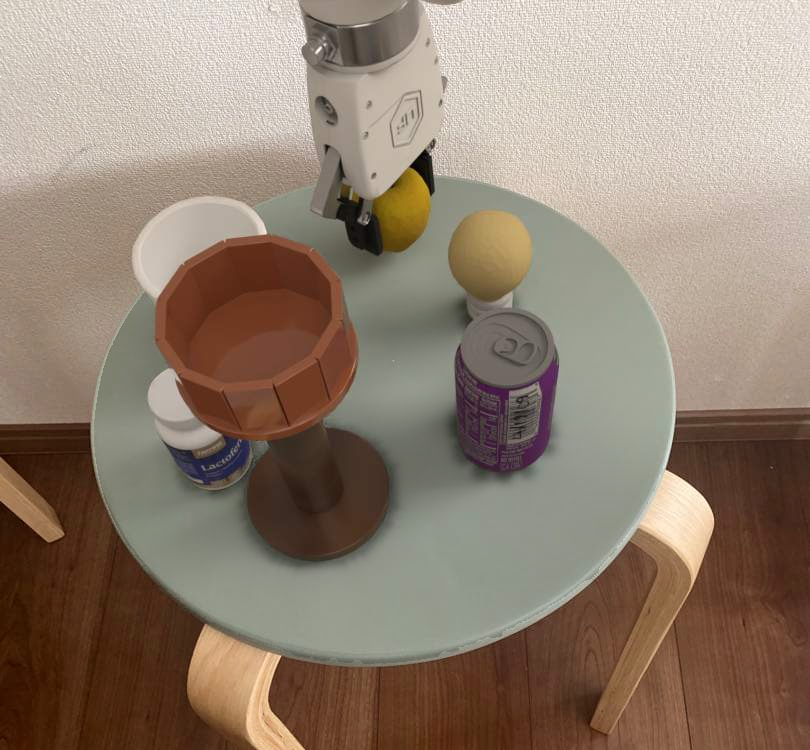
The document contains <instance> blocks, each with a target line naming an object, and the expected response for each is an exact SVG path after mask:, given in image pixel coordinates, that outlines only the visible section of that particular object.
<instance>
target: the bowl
mask: <svg viewBox="0 0 810 750" xmlns="http://www.w3.org/2000/svg"><path fill="white" fill-rule="evenodd" d="M157 299H158V301H156V306H155V319H154V336H153V337H154V339H153V340H154V342H155V345H156V347H157V349H158V350H159V352H160V354H161V356H162V357H163V360H164V361H165V363H166V364H167V366H168V368H170V370H171V372H172V373H173V375H174V377H175V382H176V385H177V388H178V391H179V393H180V395H181V397H182V399H183V400H184V402H185V404H186V406H187V407H188V409H189V410H190V411H191V413H192V414H193V415H194V416H195V417H196V418H197V419H198V420H199V421H200V422H201V423H203V424H204V425H206V426H207V427H208V428H210V429H212V430H214V431H216V432H218V433H220V434H222V435H225V436H228V437H231V438H235V439H240V440H248V441H249V442H265V441H266V442H267V441H269V440H275V439H281V438H285V437H288V436H292V435H295V434H297V433H300V432H302V431H305V430H306V429H308V428H310V427H312V426H314V425H316V424H317V423H318V422H320V421H321V420H323V421H324V419H326V418H327V417H328V416H329V415H330V414H331V413H332V412H334V411H335V410H336V408H338V406H339V405H340V404H341V403H342V402H343V400H344V398H346V396H347V394H348V393H349V391H350V389H351V387H352V385H353V384H354V381H355V377H356V375H357V372H358V366H359V359H360V349H359V342H358V336H357V333H356V329H355V325H354V323H353V321H352V319H351V317H350V315H349V310H348V305H347V302H346V298H345V293H344V288H343V283H342V281H341V278H340V276H338V274H337V273H336V272H335V270H334V269H333V268H332V267H331V266H330V265H329V263H327V261H326V260H325V258H324V257H323V256H322V255H321V254H320V252H318V250H317V249H316V248H314V247H312V246H309V245H307V244H304V243H301V242H298V241H295V240H292V239H289V238H286V237H284V236H280V235H277V234H271V233H267V234H264V235H256V236H247V237H238V238H229V239H226V240H225V242H224V241H223V240H222V241H220V242H218V243H216V244H215V245H213V246H211V247H209V248H207V249H206V250H204V251H202V252H200V253H199V254H197V255H195V256H193V257H192V258H190V259H188V260H186V261H185V262H184V265H183V264H181V265H180V267H179V268H178V269H177V271H176V272H175V274H174V275H173V277H172V278H171V279H170V281H169V282H168V284H167V285H166V287H165V288H164V289H163V291H162V292H161V294H160V295H159V297H158V298H157Z"/></svg>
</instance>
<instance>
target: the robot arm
mask: <svg viewBox="0 0 810 750" xmlns="http://www.w3.org/2000/svg"><path fill="white" fill-rule="evenodd" d="M297 1H298V6H299V10H300V15H301V20H302V25H303V28H304V29H303V30H304V33H305V38H306V39H305V40H306V43H304V45H302V46H301V55H302V57H303V59H304V61H305V63H306V65H305V66H306V89H307V97H308V98H307V99H308V100H307V101H308V109H309V110H308V111H309V119H310V125H311V130H312V137H313V141H314V146H315V152H316V156H317V159H318V163H319V166H320V169H321V170H320V173H319V175H318V178H317V182H316V185H315V187H314V192H313V195H312V198H311V200H310V201H311V202H310V205H309V210H310V212H312V213H314V214H316V215H317V216H320V217H322V218H324V219H327V220H339V221H341V222H343V223H344V227H345V230H346V236H347V239H348V241H349V243H350V244H351V245H352V247H354V248H356V249H358V250H360V251H367V253H370V254H372V255H373V256H376V257H380V255H381V254H382V253H384V252H383V244H382V238H381V232H380V226H379V221H378V217H377V216H376V215H375V214H373V213H372V207H373V199H375V198H377V197H379V196H381V195H382V194H383V193H384V192H385V191H387V190H388V189H389V188H390V186H391V185H392V184H393V183H394V182H395V181H396V180H397V179H398V178H399V177H400V176H401V175H402V174H403V172H404V171H405V170H406V169H407V168H408V167H410V168H412V169H414V170H415V171H416V172H417V173H418V174H419V175H420V176H421V177H422V179H423V180H424V182H425V184H426V185H427V187H428V190H429V193H430V198H431V197H432V196H433V195H434V194H435V192H436V186H435V175H434V165H433V155H430V154H431V153H432V152H433V151H434V150H435V148H436V146H437V145H436V144H437V138H436V136H437V135H438V133H439V132H440V130H441V129H442V126H443V124H444V122H445V117H446V116H445V114H446V113H445V97H444V94H445V91H446V88H447V85H448V77H446V76H444V75H443V74H442V73H441V65H440V59H439V54H438V50H437V43H436V39H435V35H434V32H433V28H432V25H431V22H430V19H429V16H428V14H427V11H426V9H425V6H424V4H423V3H422V2H425V3H427V4H431V5H437V6H450V5H451V6H452V5H456V4H459V3H462V2H464V1H465V0H297ZM421 1H422V2H421ZM351 189H352V191H353V190H354V192H355V193H356V194H357V195H358V196H359V202H358V203H357V202H355V201H353V200H352V199H351V198H350V196H351Z"/></svg>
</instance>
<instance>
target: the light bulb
mask: <svg viewBox="0 0 810 750" xmlns="http://www.w3.org/2000/svg"><path fill="white" fill-rule="evenodd" d="M447 250H448V251H447V261H448V266H449V269H450V272H451V274H452V276H453V277H452V278H454V279H455V281H456V282H457V284H458V285H459V286H460V287H461V288H462V289H463V290H465V292H466V311H467V313H468V315H469V317H470V319H472V321H473V320H474V319H475V318H477V317H478V316H480V315H481V314H483V313H485V312H487V311H490V310H493V309H498V308H513V300H514V299H513V297H514V296H513V295H514V294H513V293H514V290H515V289H516V288H517V287H519V286H520V285H521V283H523V281H524V279H525V278H526V276H527V275H528V273H529V270H530V267H531V264H532V260H533V259H532V258H533V247H532V240H531V236H530V234H529V232H528V230H527V227H526V225H525V224H524V223H523V222H522V221H521V220H520V218H518V217H517V216H516V215H514V214H512V213H510V212H507V211H503V210H498V209H484V210H479V211H474V212H472V213H469V214H468V215H466V216H465V217H464V218H463V219H462V220H461V221H460V222H459V223H458V225H457V226H456V227H455V229H454V230H453V233H452V235H451V237H450V241H449V244H448V249H447Z"/></svg>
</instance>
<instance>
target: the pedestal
mask: <svg viewBox="0 0 810 750" xmlns="http://www.w3.org/2000/svg"><path fill="white" fill-rule="evenodd" d="M266 443H267V445H268V447H269V448H268V449H267V450H266V451H265V452H264V453H263V455H261V457H260V458H259V460H258V461H257V462H256V464H255V465H254V468H253V469H252V471H251V474H250V478H249V480H248V484H247V489H246V505H247V510H248V514H249V518H250V521H251V523H252V525H253V526H254V528H255V530H256V531H257V533H258V534H259V536H260V537H261V538H262V539H263V541H264V542H265V543H266V544H268V545H269V546H270V547H271V548H272V549H274V550H275V551H276V552H279V553H281V554H282V555H284V556H287V557H290V558H293V559H296V560H301V561H306V562H307V561H308V562H323V561H329V560H334V559H337V558H341V557H343V556H346V555H348V554H350V553H352V552H354V551H356V550H357V549H359V548H360V547H362V546H363V545H364V544H365V543H366V542H368V541H369V540H370V539H371V538H372V537H373V536H374V535H375V533H377V531H378V530H379V528H380V526H381V525H382V523H383V522H384V520H385V517H386V515H387V512H388V510H389V507H390V501H391V483H390V478H389V473H388V470H387V466H386V464H385V462H384V460H383V459H382V457H381V455H380V454H379V452H378V451H377V450H376V449H375V448H374V447H373V446H372V445H371V443H369V442H367V440H365V439H364V438H362V437H360V436H359V435H357V434H355V433H353V432H351V431H347V430H345V429H341V428H335V427H326V426H325V423H324V419H323V420H321V421H320V422H318V423H317V424H316V425H314V426H312V427H310V428H308V429H306V430H305V431H302V432H300V433H297V434H295V435H292V436H288V437H285V438H281V439H275V440H269V441H266Z"/></svg>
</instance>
